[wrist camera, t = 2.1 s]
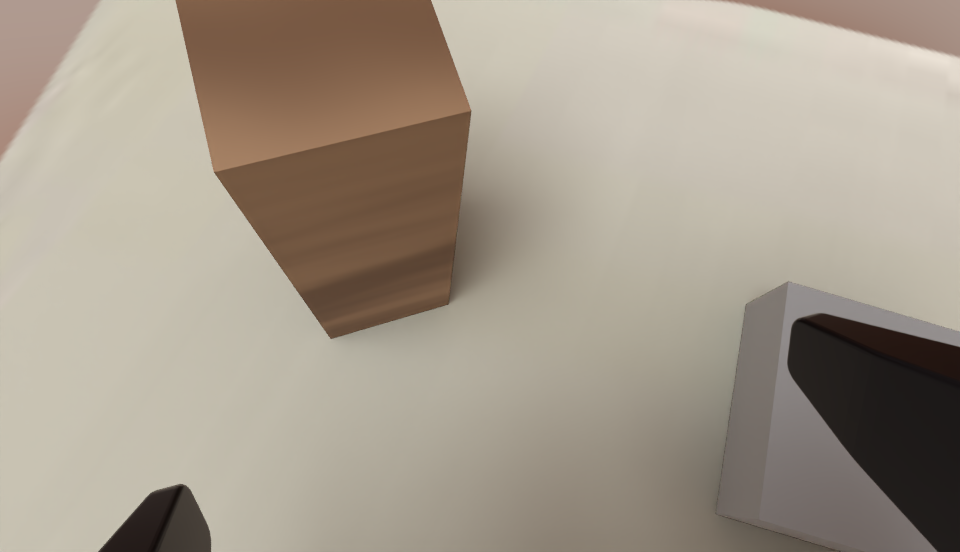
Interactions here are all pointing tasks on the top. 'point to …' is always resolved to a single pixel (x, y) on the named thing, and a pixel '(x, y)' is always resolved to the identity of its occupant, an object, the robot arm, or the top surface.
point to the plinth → (805, 437)
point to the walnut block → (337, 145)
